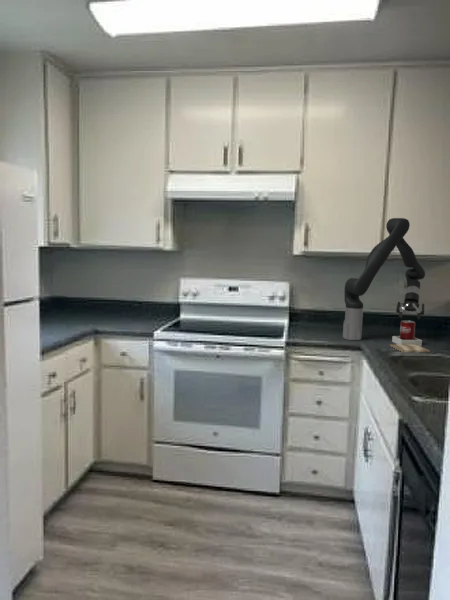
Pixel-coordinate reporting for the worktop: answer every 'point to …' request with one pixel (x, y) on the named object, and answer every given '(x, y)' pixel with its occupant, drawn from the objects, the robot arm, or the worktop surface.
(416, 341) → the can collar
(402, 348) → the trivet
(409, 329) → the soda can
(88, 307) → the worktop surface
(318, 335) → the worktop surface
